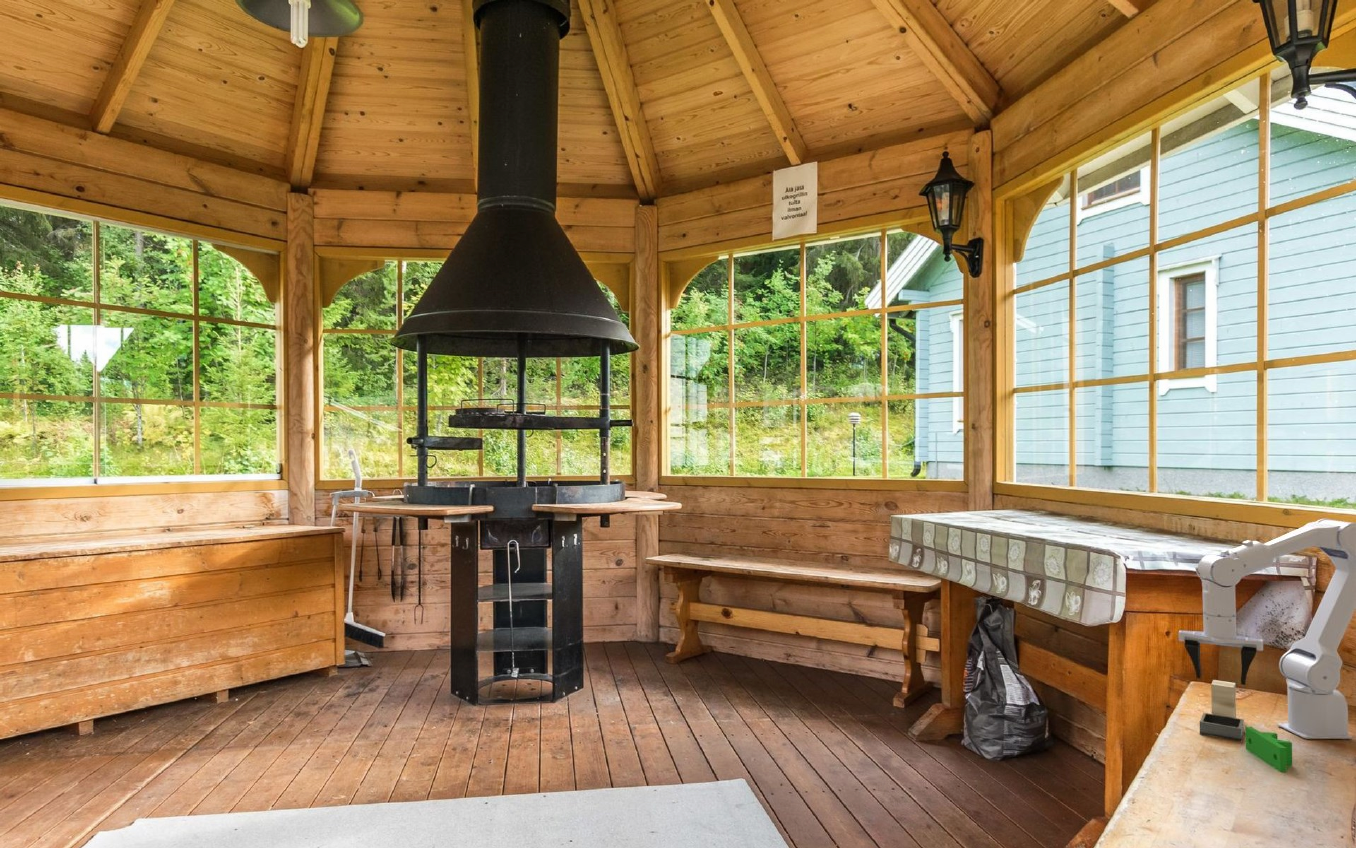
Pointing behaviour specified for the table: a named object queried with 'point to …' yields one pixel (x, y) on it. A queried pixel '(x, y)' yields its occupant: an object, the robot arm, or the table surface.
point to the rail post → (1223, 698)
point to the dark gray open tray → (1222, 726)
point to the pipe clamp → (1269, 748)
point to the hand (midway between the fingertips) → (1220, 680)
